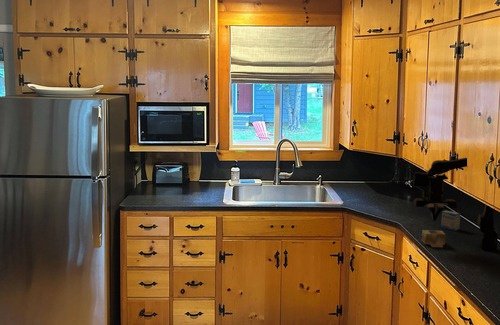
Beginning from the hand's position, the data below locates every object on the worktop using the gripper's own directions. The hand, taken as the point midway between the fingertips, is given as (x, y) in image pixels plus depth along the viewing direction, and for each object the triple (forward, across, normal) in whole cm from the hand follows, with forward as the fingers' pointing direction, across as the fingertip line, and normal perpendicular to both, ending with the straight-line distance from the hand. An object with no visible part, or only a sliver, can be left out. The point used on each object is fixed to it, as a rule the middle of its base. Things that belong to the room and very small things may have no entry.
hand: (434, 220), depth 262 cm
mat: (+11, -1, 0) cm, 11 cm away
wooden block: (+8, -5, 0) cm, 9 cm away
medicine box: (+11, -16, -27) cm, 33 cm away
